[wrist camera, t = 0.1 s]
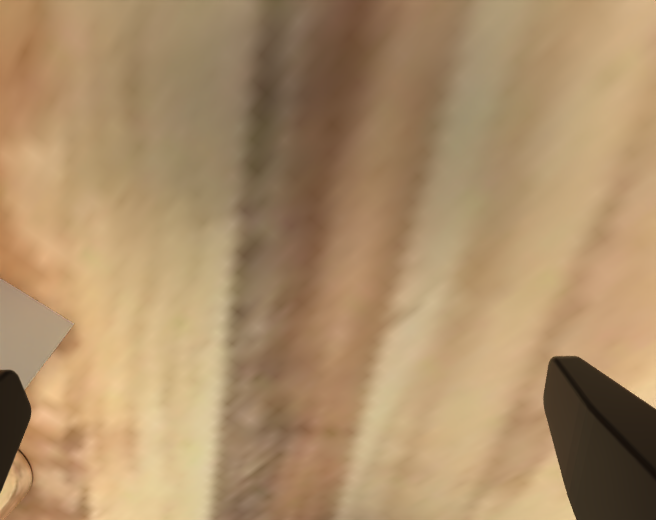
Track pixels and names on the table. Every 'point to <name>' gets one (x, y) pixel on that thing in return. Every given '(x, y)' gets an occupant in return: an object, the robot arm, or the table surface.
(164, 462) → the table surface
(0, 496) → the beer glass
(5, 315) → the letter block
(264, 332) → the table surface
